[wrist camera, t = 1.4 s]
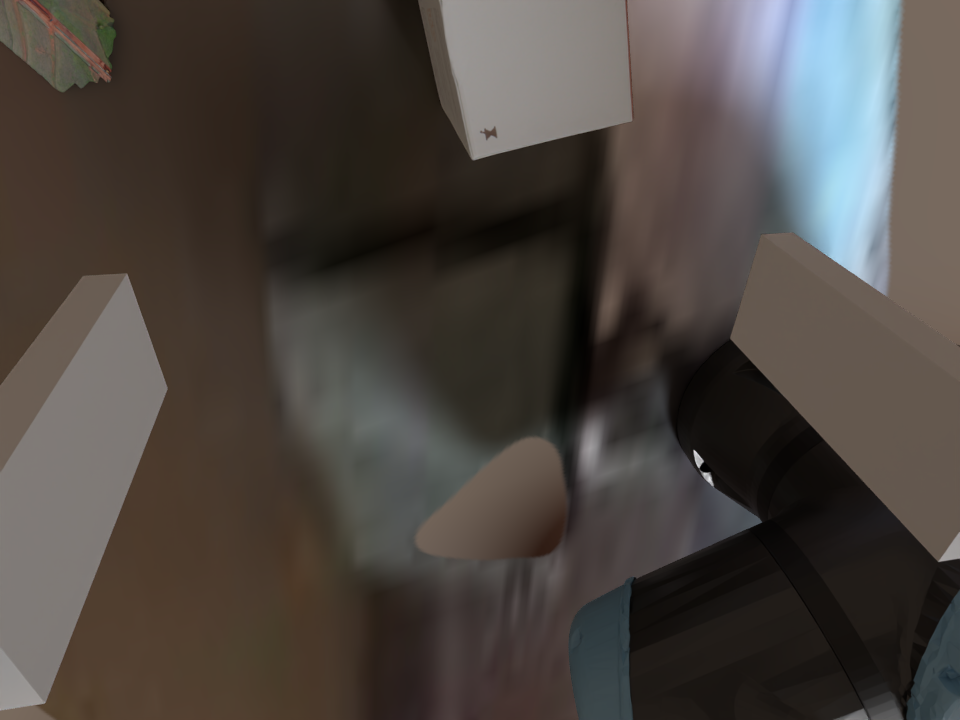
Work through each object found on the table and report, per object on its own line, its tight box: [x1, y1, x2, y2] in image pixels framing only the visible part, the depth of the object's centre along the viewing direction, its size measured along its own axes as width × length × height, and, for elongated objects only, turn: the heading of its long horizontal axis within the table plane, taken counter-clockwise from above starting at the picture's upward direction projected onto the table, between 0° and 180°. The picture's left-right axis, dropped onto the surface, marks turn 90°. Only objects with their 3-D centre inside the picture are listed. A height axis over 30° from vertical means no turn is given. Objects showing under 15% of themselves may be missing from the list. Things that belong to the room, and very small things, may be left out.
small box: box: [418, 0, 634, 160], centre depth 26 cm, size 8×6×13 cm
